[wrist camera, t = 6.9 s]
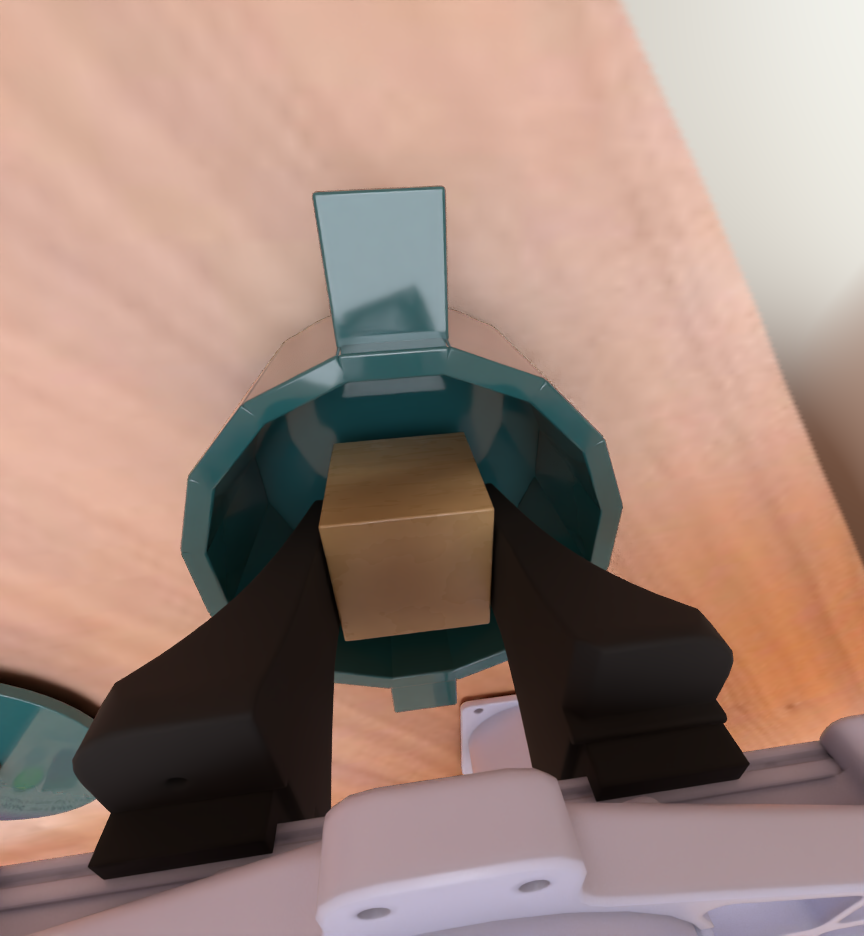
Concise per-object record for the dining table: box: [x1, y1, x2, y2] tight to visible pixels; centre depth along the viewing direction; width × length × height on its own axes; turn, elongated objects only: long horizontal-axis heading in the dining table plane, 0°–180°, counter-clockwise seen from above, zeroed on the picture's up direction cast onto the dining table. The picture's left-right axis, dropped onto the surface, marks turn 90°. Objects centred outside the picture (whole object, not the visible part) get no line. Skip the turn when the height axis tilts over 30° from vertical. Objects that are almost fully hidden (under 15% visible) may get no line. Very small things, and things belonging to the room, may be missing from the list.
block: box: [318, 432, 494, 641], centre depth 12 cm, size 4×4×4 cm
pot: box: [181, 186, 623, 713], centre depth 14 cm, size 11×17×5 cm
